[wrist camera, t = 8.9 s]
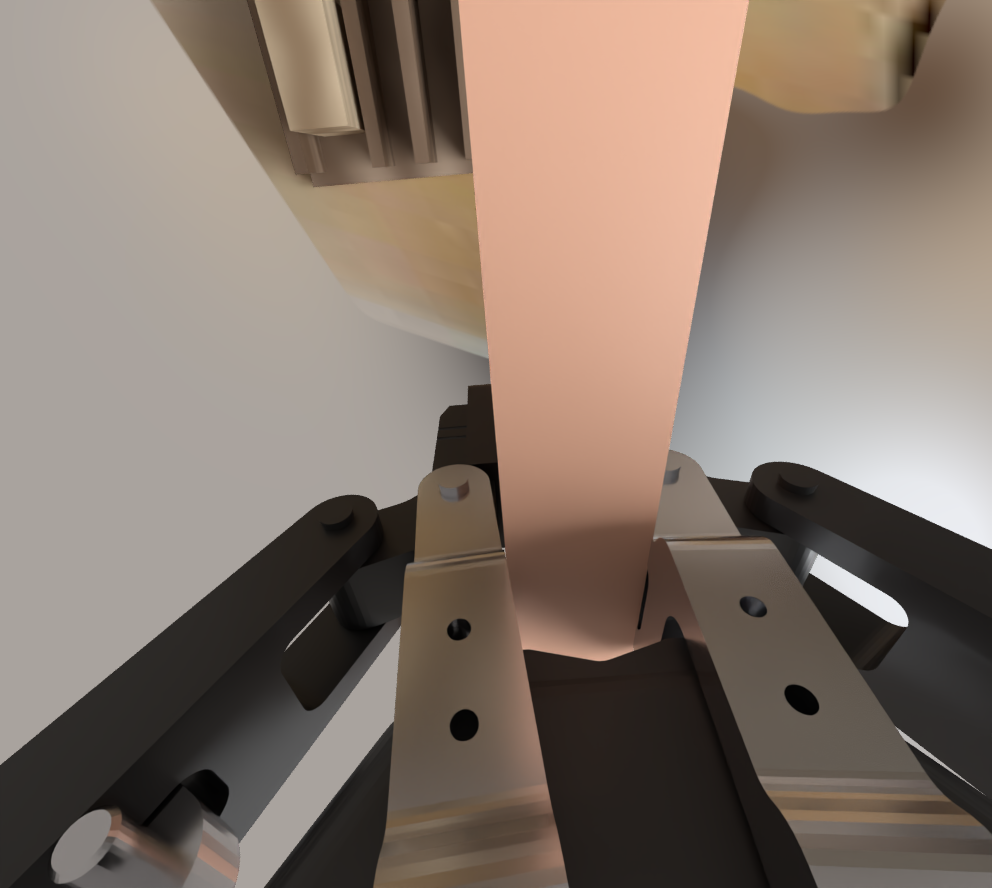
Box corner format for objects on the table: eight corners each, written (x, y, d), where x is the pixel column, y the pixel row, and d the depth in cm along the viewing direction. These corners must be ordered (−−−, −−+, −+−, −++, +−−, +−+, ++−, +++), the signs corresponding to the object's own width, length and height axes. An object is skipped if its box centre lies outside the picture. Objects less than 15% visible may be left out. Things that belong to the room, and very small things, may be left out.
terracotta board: (518, 20, 16) (1123, -2082, 1) (532, 457, 27) (601, 828, 12) (465, 25, 16) (290, -1968, 1) (500, 460, 27) (529, 832, 12)
